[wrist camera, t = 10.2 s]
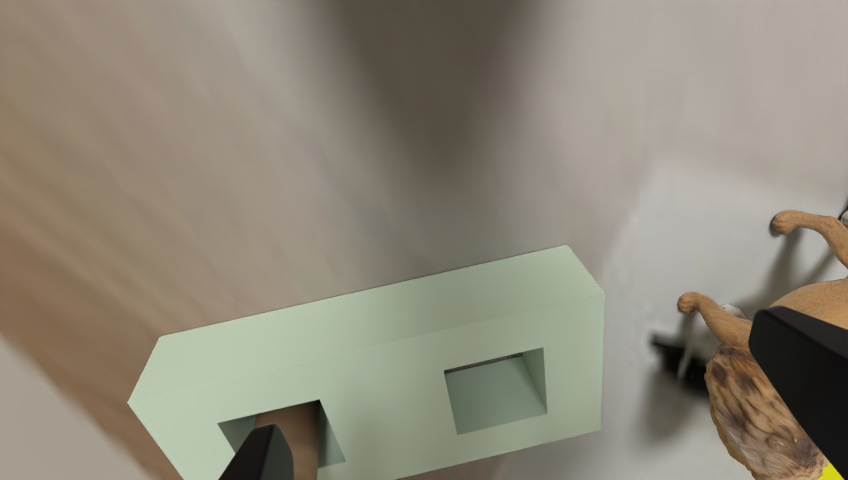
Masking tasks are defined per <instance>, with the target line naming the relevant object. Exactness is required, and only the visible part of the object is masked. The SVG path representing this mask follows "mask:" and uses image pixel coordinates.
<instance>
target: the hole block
mask: <svg viewBox="0 0 848 480" xmlns="http://www.w3.org/2000/svg"><path fill="white" fill-rule="evenodd" d="M604 310H605V293H604V291H603V290H602V289H601V287H600V286H599V285H598V283H597V282H596V281H595V280H594V278H593V277H592V276H591V274H590V273H589V272H588V271H587V269H586V268H585V267H584V265H583V264H582V263H581V262H580V260H579V259H578V258H577V256H576V255H575V254H574V252H573V251H572V250H571V249H570V247H569V246H568V245H563V246H558V247H554V248H549V249H545V250H541V251H536V252H532V253H527V254H523V255H518V256H514V257H510V258H505V259H501V260H496V261H492V262H487V263H483V264H479V265H474V266H470V267H465V268H461V269H457V270H452V271H448V272H443V273H439V274H434V275H430V276H426V277H421V278H417V279H412V280H408V281H404V282H399V283H395V284H390V285H386V286H381V287H377V288H373V289H368V290H364V291H359V292H355V293H351V294H346V295H342V296H337V297H333V298H328V299H324V300H320V301H315V302H311V303H306V304H302V305H298V306H293V307H289V308H284V309H280V310H275V311H271V312H267V313H262V314H258V315H253V316H249V317H245V318H240V319H236V320H231V321H227V322H222V323H218V324H214V325H209V326H205V327H200V328H196V329H191V330H187V331H183V332H178V333H174V334H169V335H165V336H161V337H160V338H159V340H158V342H157V344H156V346H155V348H154V350H153V352H152V354H151V356H150V358H149V360H148V362H147V364H146V366H145V368H144V370H143V372H142V374H141V376H140V378H139V381H138V383H137V385H136V387H135V389H134V391H133V393H132V395H131V397H130V399H129V401H128V404H129V406H130V407H131V409H132V410H133V411H134V413H135V414H136V415H137V417H138V418H139V419H140V421H141V422H142V423H143V425H144V426H145V428H146V429H147V430H148V432H149V433H150V434H151V436H152V437H153V438H154V440H155V441H156V442H157V444H158V445H159V447H160V448H161V449H162V451H163V452H164V453H165V455H166V456H167V457H168V459H169V460H170V461H171V463H172V464H173V466H174V467H175V468H176V470H177V471H178V472H179V474H180V475H181V476H182V478H183V479H184V480H218V479H219V478H220V476H221V475H222V473H223V472H224V470H225V469H226V467H227V466H228V464H229V463H230V461H231V460H232V458H233V457H234V455H235V454H236V452H237V451H238V449H239V448H240V446H241V445H242V443H243V442H244V440H245V439H246V437H247V436H248V434H249V433H250V431H251V430H252V429H253V428H254V424H255V419H256V414H258V413H263V412H267V411H271V410H275V409H280V408H284V407H288V406H293V405H297V404H301V403H306V402H310V401H314V400H318V399H320V401H321V414H320V433H319V451H318V469H317V480H395V479H400V478H404V477H408V476H412V475H416V474H420V473H425V472H429V471H433V470H437V469H441V468H446V467H450V466H454V465H458V464H462V463H466V462H471V461H475V460H479V459H483V458H487V457H492V456H496V455H500V454H504V453H508V452H513V451H517V450H521V449H525V448H529V447H533V446H538V445H542V444H546V443H550V442H554V441H559V440H563V439H567V438H571V437H575V436H579V435H584V434H588V433H592V432H596V431H600V430H601V415H602V380H603V345H604ZM520 352H522V356H520V357H516V358H512V359H507V360H503V361H499V362H494V363H490V364H486V365H482V366H477V367H473V368H469V369H464V370H460V371H456V372H451V373H447V374H444V370H447V369H452V368H456V367H460V366H465V365H469V364H473V363H477V362H482V361H486V360H490V359H495V358H499V357H503V356H508V355H512V354H516V353H520Z"/></svg>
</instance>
